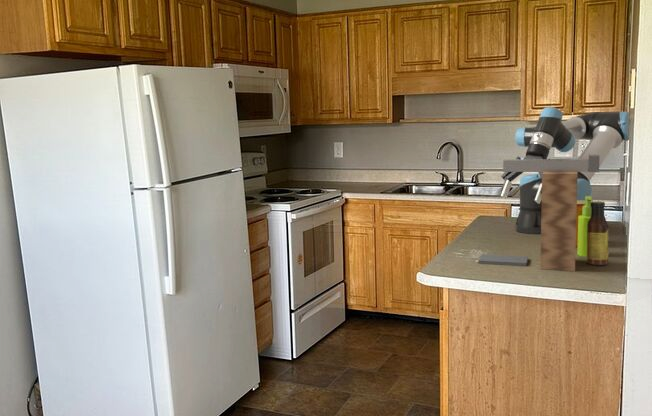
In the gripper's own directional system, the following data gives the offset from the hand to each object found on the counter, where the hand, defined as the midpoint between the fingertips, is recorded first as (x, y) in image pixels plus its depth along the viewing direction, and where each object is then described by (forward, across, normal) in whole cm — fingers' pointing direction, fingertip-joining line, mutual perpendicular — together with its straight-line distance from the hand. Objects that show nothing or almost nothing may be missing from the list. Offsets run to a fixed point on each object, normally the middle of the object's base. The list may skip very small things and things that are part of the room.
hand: (519, 199), depth 216 cm
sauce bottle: (+16, +31, +6) cm, 36 cm away
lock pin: (-3, +19, -19) cm, 27 cm away
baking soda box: (+5, +15, +24) cm, 29 cm away
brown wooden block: (+21, +23, -2) cm, 31 cm away
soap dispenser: (+12, +24, +13) cm, 29 cm away
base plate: (+26, +8, -8) cm, 28 cm away
